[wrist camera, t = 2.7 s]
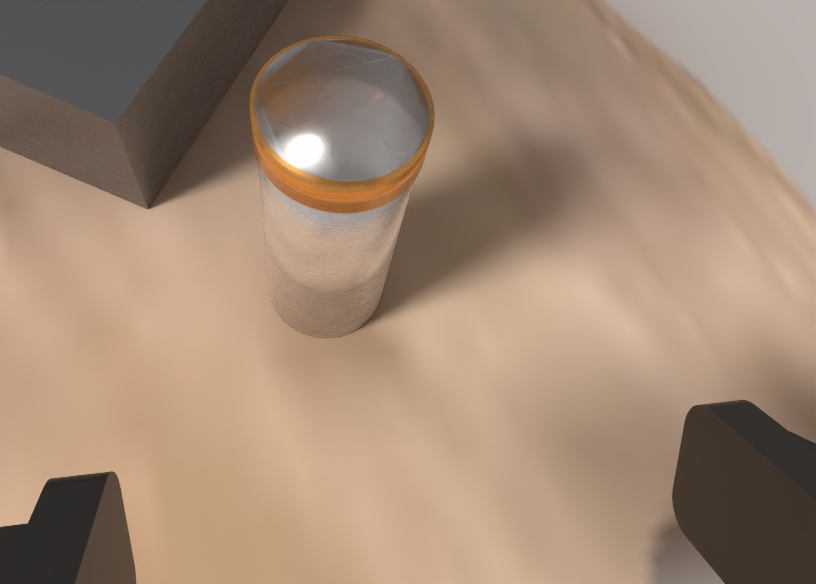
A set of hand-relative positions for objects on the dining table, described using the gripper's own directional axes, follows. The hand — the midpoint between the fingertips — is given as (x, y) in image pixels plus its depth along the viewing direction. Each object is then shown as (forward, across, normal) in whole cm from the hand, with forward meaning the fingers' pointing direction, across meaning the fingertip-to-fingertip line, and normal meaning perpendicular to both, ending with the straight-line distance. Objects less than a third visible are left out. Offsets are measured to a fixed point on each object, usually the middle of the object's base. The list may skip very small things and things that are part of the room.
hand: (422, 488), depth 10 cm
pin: (+15, 0, +3) cm, 16 cm away
